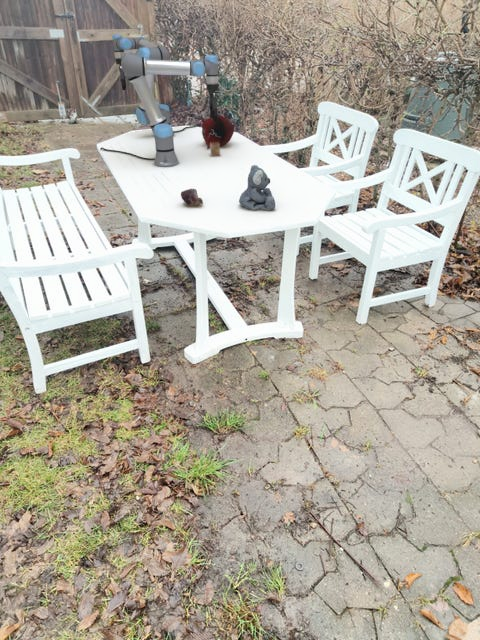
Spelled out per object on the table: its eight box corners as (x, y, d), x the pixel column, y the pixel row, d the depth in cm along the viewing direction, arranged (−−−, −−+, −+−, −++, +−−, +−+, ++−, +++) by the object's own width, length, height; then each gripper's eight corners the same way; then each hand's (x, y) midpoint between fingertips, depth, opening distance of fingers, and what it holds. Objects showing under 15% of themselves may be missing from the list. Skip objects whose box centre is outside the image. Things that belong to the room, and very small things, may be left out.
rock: (196, 202, 238) (178, 205, 233) (194, 185, 234) (176, 188, 230) (205, 205, 228) (187, 208, 224) (203, 188, 224) (185, 191, 220)
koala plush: (276, 211, 223) (277, 171, 212) (240, 212, 222) (240, 172, 211) (271, 199, 237) (272, 161, 226) (237, 200, 236) (237, 162, 225)
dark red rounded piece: (199, 121, 337) (198, 117, 314) (230, 114, 337) (230, 110, 313) (206, 150, 344) (205, 149, 321) (236, 143, 343) (237, 142, 320)
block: (211, 156, 308) (211, 144, 304) (210, 154, 312) (210, 142, 308) (219, 156, 309) (219, 143, 305) (218, 154, 313) (218, 142, 309)
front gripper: (221, 85, 276) (222, 122, 288) (215, 80, 296) (216, 115, 308) (209, 86, 275) (210, 123, 287) (204, 81, 295) (205, 116, 307)
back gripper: (124, 59, 338) (128, 90, 350) (125, 56, 358) (129, 86, 370) (114, 59, 336) (119, 91, 349) (115, 57, 357) (120, 86, 369)
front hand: (213, 119), depth 298 cm, fingers open, 13 cm apart
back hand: (124, 88), depth 359 cm, fingers open, 13 cm apart
